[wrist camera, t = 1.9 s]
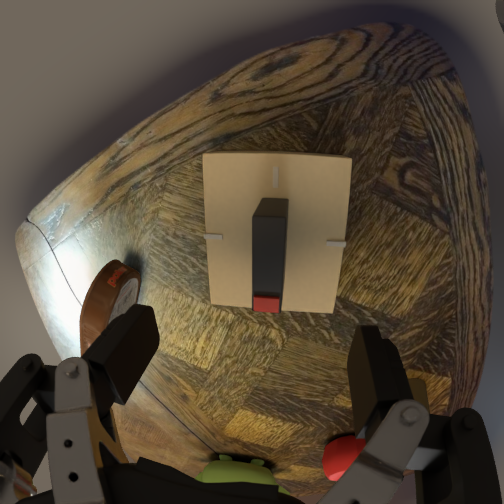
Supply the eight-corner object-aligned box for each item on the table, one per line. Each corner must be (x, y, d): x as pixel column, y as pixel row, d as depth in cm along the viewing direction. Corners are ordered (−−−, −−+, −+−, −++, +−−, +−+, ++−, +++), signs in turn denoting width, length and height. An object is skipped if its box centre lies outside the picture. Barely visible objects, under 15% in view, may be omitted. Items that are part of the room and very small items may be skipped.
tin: (126, 244, 25) (73, 287, 18) (153, 258, 25) (104, 307, 18) (112, 340, 32) (79, 383, 24) (132, 352, 32) (101, 398, 24)
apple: (359, 424, 32) (363, 470, 24) (376, 441, 34) (380, 480, 26) (312, 439, 35) (310, 483, 27) (333, 454, 36) (333, 492, 29)
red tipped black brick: (261, 197, 18) (251, 216, 14) (288, 198, 18) (286, 218, 14) (260, 276, 21) (251, 313, 17) (284, 278, 21) (280, 315, 16)
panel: (213, 151, 21) (200, 153, 18) (345, 155, 19) (354, 158, 16) (218, 286, 25) (209, 304, 23) (330, 294, 24) (334, 314, 21)
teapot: (198, 466, 46) (184, 511, 35) (186, 442, 41) (166, 497, 29) (289, 478, 43) (283, 526, 32) (296, 457, 38) (289, 517, 26)
